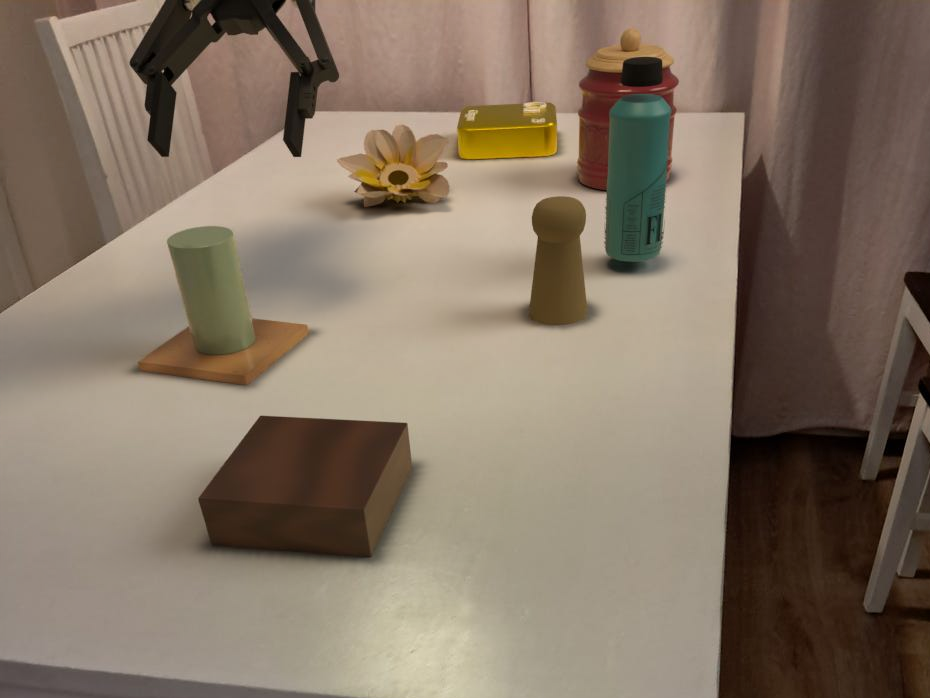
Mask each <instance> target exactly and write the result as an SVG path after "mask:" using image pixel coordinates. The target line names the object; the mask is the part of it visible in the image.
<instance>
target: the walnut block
mask: <svg viewBox="0 0 930 698" xmlns="http://www.w3.org/2000/svg"><path fill="white" fill-rule="evenodd" d="M412 470H413V460H412V452H411V442H410V433H409V425H408V422H400V421H399V422H396V421H379V420H378V421H377V420H359V419H358V420H357V419H339V418H338V419H337V418H317V417H295V416H278V415H277V416H276V415H259V416H258V417H257V419H256V420H255V422H254V423H253V424H252V426H251V427H250V428H249V430H248V431H247V432H246V434H245V435H244V436H243V438H242V439H241V440H240V442H239V443H238V444H237V446H236V447H235V448H234V450H233V451H232V452H231V454H230V455H229V456H228V458H227V459H226V461H224V463H223V464H222V466H221V467H220V468H219V470H218V471H217V472H216V474H215V475H214V476H213V478H212V479H211V481H210V482H209V483H208V485H206V487H205V489H204V490H203V491H202V493H200V495H199V497H198V498H197V500H198V504H199V507H200V510H201V511H200V512H201V514H202V517H203V521H204V524H205V527H206V531H207V534H208V538H209V541H210V544H211V546H222V547H233V548H246V549H261V550H275V551H289V552H299V553H311V554H312V553H314V554H326V555H329V554H330V555H339V556H340V555H341V556H350V557H351V556H352V557H366V558H371V557H372V556H373V554H374V552H375V550H376V547H377V545H378V544H379V541H380V539H381V537H382V535H383V533H384V531H385V528H386V526H387V524H388V522H389V519H390V517H391V515H392V513H393V512H394V511H393V510H394V508H395V507H396V504H397V502H398V500H399V498H400V496H401V494H402V491H403V489H404V487H405V485H406V483H407V480H408V478H409V476H410V474H411V472H412Z"/></svg>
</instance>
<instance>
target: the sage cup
mask: <svg viewBox="0 0 930 698" xmlns="http://www.w3.org/2000/svg"><path fill="white" fill-rule="evenodd" d="M166 244H167V248H168V252H169V256H170V260H171V263H172V267H173V271H174V274H175V278H176V282H177V286H178V290H179V293H180V297H181V302H182V305H183V309H184V312H185V313H184V314H185V317H186V320H187V324H188V326H189V328H190V332H191V335H192V339H193V343H194V347H195V349H196V350H197V351H199V352H201V353H204V354H208V355H224V354H230V353H235V352H238V351H241V350H244V349H246V348H248V347H249V346H251V345H252V344H253V343H254V342H255V340H256V335H255V330H254V326H253V321H252V318H253V317H252V312H251V308H250V303H249V299H248V294H247V290H246V285H245V284H246V283H245V280H244V275H243V270H242V267H241V262H240V257H239V252H238V248H237V244H236V239H235V234H234V231H233V230H232V229H230V228H228V227H225V226H220V225H219V226H218V225H205V226H196V227H192V228H186V229H184V230H181V231H177V232H176V233H173V234H172V235H170V236H169V237H168V238H167V239H166Z"/></svg>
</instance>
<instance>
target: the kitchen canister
mask: <svg viewBox="0 0 930 698" xmlns="http://www.w3.org/2000/svg"><path fill="white" fill-rule="evenodd" d="M619 40H620V41H619V42H620V44H617V45H616V44H615V45H610V46H605V47H602V48H599V49H597V51H596V52H595V54H593V55H592V56H591V57H588V59H587V60H586V61H585V66H586V68H588V72H587V74H586V75H585V76H584V77H582V78H581V80H579V81H578V87H579V89H580V90H581V92H582V99H581V107H580V108H579V109H578V111H577V115H578V118H579V121H578V123H579V124H578V129H579V130H578V156H577V161H576V164H577V166H576V170H577V174H578V180H579V182H580V183H581V184H583V185H584V186H587V187H589V188H591V189H592V188H593V189H597V190H603V191H607V178H608V176H607V175H608V155H609V126H610V117H609V112H610V109H611V108H612V107H613V106H614V104H615V103H616V102H617V101H618V100H619V99H620V98H621V97H623V96H626V95H632V94H654V95H659V96H661V97H662V98H663V99H664V100H665V101H666V102H667V104H668V105H669V106H670V108H671V115H670V126H669V141H668V143H669V145H668V161H667V164H669V165H667V175H666V182H667V181H668V180H669V178H670V173H671V171H672V166H673V165H672V163H673V156H672V153H673V143H674V142H673V140H674V131H675V130H674V129H675V128H674V127H675V117H676V114H677V111H678V110H677V107H676V105H674V104H675V102H674V96H675V95H674V94H675V89H676V88H677V86H678V85H679V83H680V80H679V78H678V76H676V75H675V74H674V73H672V70H671V67H672V65H673V64H674V62H675V58H674V57H672V56H671V55H670V54H669V53H667V52H666V51H665V50H664V48H663V47H662V46H658V45H653V44H641V43H642V36H641V34H640V32H639V30H637V29H636V28H628V29H627V28H626V29H625V30H624V31H623V32H622V34H621V36H620V39H619ZM635 57H656V58H660V59H661V60H662V74H663V81H662V83H661V84H659V85H655V86H649V87H629V86H624V85H622V84H621V75H622V67H623V62H624V61H625V60H626V59H629V58H635ZM669 148H670V150H669ZM605 185H606V186H605Z"/></svg>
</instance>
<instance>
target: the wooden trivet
mask: <svg viewBox="0 0 930 698" xmlns="http://www.w3.org/2000/svg"><path fill="white" fill-rule="evenodd" d="M252 321H253V326H254V330H255V335H256V340H255V342H254V343H253V344H252V345H251V346H249V347H248V348H246V349H244V350H241V351H238V352H235V353H230V354H224V355H208V354H204V353H201V352H199V351H197V350H196V349H195V347H194V343H193V339H192V335H191V332H190V328H189V325H188V326H187V327H186V328H184V329H183V330H181V331H180V332H178V333H177V334H175V335H174V336H173V337H171V338H169V339H168V340H167V341H165V342H164V343H162V344H161V345H159V346H158V347H156V349H154V350H152V351H151V352H150V353H148V354H146V355H145V356H143V357H142V358H141V359H140V360H138V361H137V363H138V366H139V370H140V371H141V372H148V373H156V374H161V375H170V376H177V377H182V378H184V377H185V378H191V379H199V380H205V381H213V382H220V383H226V384H234V385H242V386H248V385H249V384H251V383H252V382H253V381H254V380H255V379H257V378H258V377H259V376H260V375H261V374H263V373H264V372H265V371H266V370H267V369H269V368H270V367H271V366H272V365H273V364H275V362H277V361H278V360H279V359H281V357H283V356H284V355H285V354H286V353H288V352H289V351H290V350H291V349H292V348H294V347H295V346H296V345H297V344H299V343H300V342H301V341H302V340H303V339H304V338H306V337H307V336H308V335H309V334H310V331H309V325H308V324H306V323H297V322H289V321H287V322H286V321H279V320H271V319H270V320H269V319H263V318H262V319H261V318H253V317H252Z"/></svg>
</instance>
